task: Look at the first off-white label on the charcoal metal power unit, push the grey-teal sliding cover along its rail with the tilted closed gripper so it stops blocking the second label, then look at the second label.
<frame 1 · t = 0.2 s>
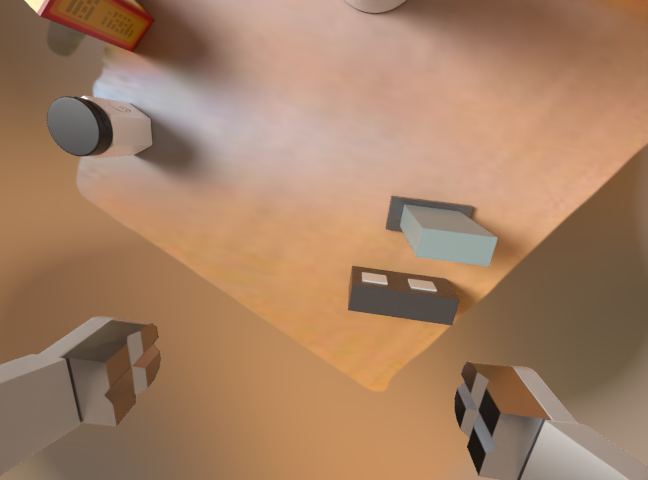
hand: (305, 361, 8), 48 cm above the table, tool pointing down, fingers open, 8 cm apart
jar: (132, 129, 55), on the table
power unit: (396, 283, 59), on the table
baking soda box: (121, 12, 49), on the table
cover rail: (427, 217, 54), on the table
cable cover: (440, 230, 46), point 9 cm above the table, slide at 0.0 cm
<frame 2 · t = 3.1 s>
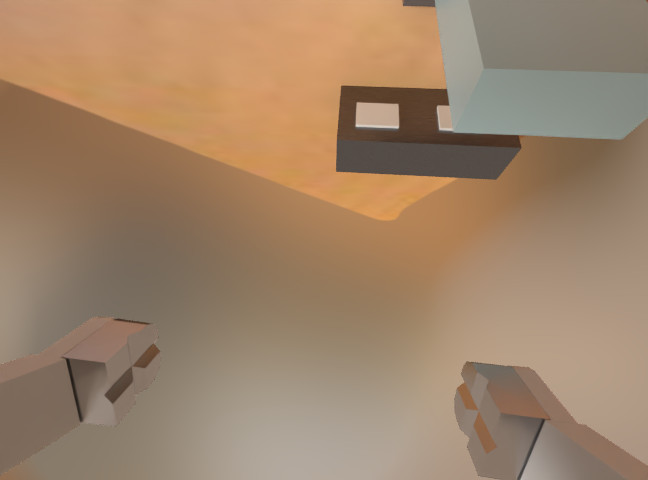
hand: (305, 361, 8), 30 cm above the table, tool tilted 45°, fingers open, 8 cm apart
power unit: (417, 107, 36), on the table
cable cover: (529, 23, 19), point 9 cm above the table, slide at 0.0 cm
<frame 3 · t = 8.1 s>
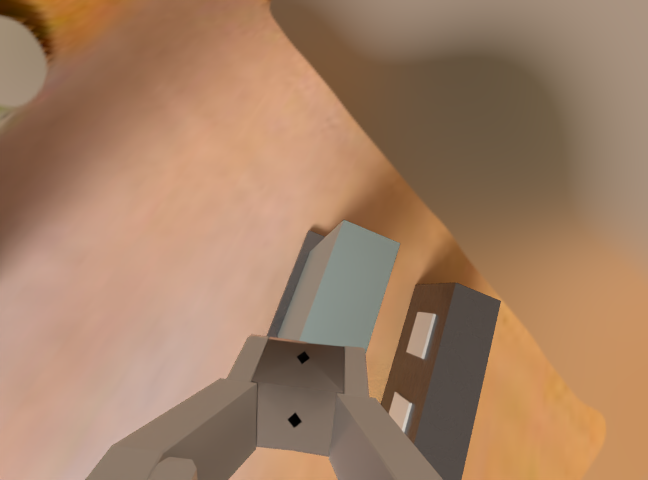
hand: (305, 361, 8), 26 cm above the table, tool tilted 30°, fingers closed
power unit: (413, 366, 35), on the table
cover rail: (310, 298, 34), on the table
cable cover: (324, 300, 25), point 9 cm above the table, slide at 0.0 cm
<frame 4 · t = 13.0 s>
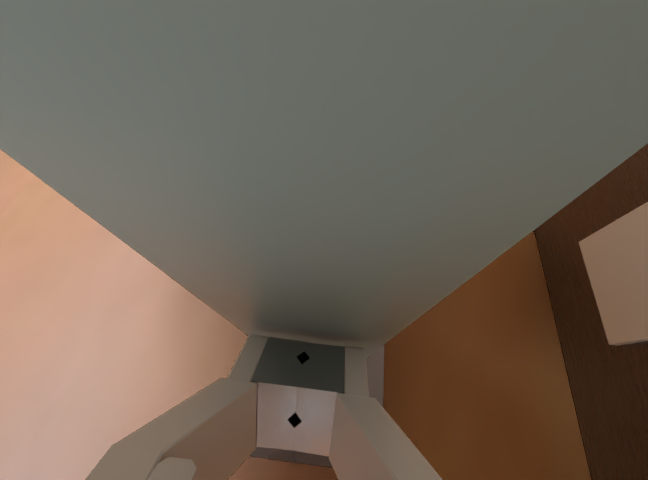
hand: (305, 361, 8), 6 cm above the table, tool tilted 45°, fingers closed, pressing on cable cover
power unit: (628, 391, 13), on the table
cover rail: (322, 292, 15), on the table
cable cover: (329, 145, 8), point 9 cm above the table, slide at 1.5 cm, touching gripper
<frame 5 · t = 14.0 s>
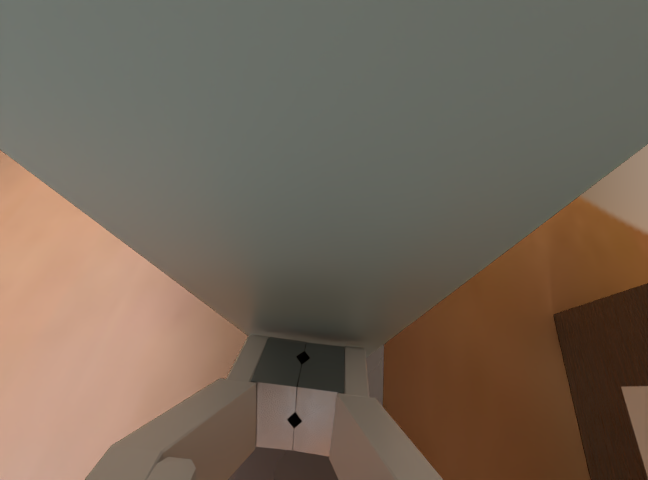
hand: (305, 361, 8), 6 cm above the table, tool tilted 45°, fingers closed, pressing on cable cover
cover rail: (306, 425, 13), on the table
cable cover: (329, 145, 8), point 9 cm above the table, slide at 7.4 cm, touching gripper
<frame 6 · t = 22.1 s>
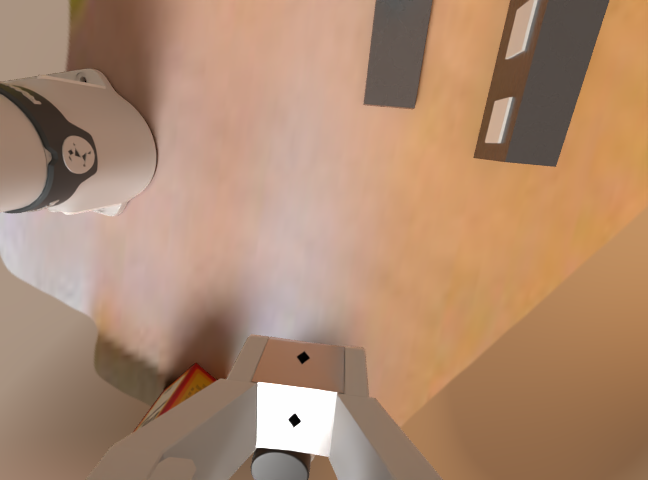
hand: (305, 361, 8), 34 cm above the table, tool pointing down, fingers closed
jar: (294, 400, 53), on the table
power unit: (514, 80, 35), on the table
baking soda box: (193, 387, 54), on the table
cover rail: (397, 41, 35), on the table
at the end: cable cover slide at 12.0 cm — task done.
